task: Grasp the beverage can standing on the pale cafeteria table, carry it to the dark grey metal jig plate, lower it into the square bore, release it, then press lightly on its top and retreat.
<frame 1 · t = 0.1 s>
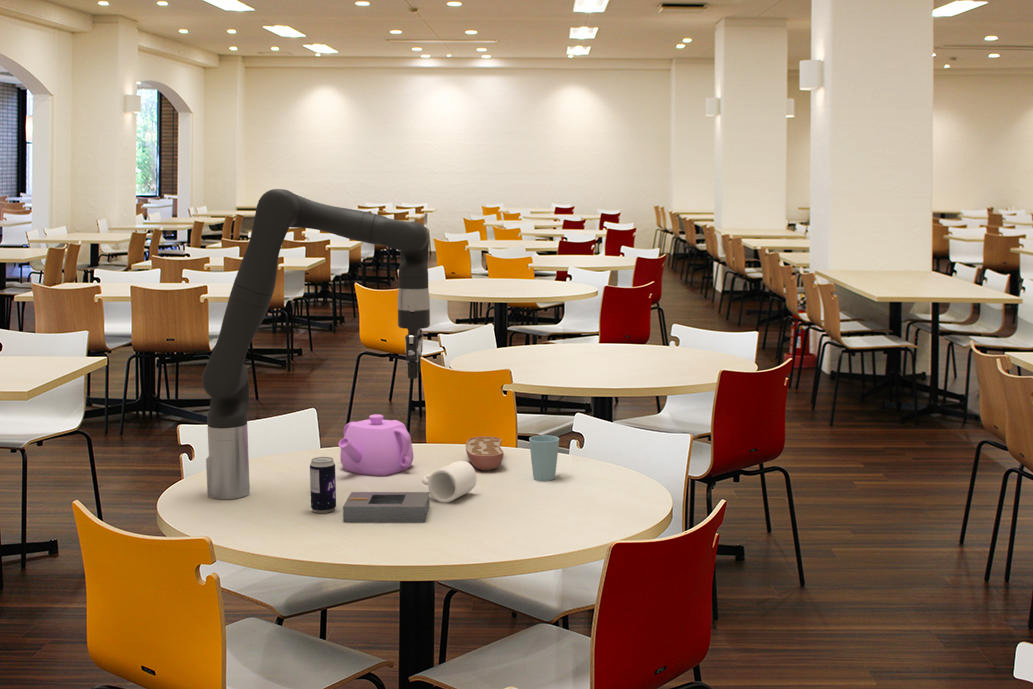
hand: (414, 375, 253), 29 cm above the table, fingers open, 8 cm apart
cup: (544, 479, 273), on the table
jig: (387, 514, 241), on the table
mug: (445, 497, 256), on the table
anatomical model: (484, 464, 289), on the table
teapot: (373, 470, 282), on the table
beverage can: (323, 511, 244), on the table
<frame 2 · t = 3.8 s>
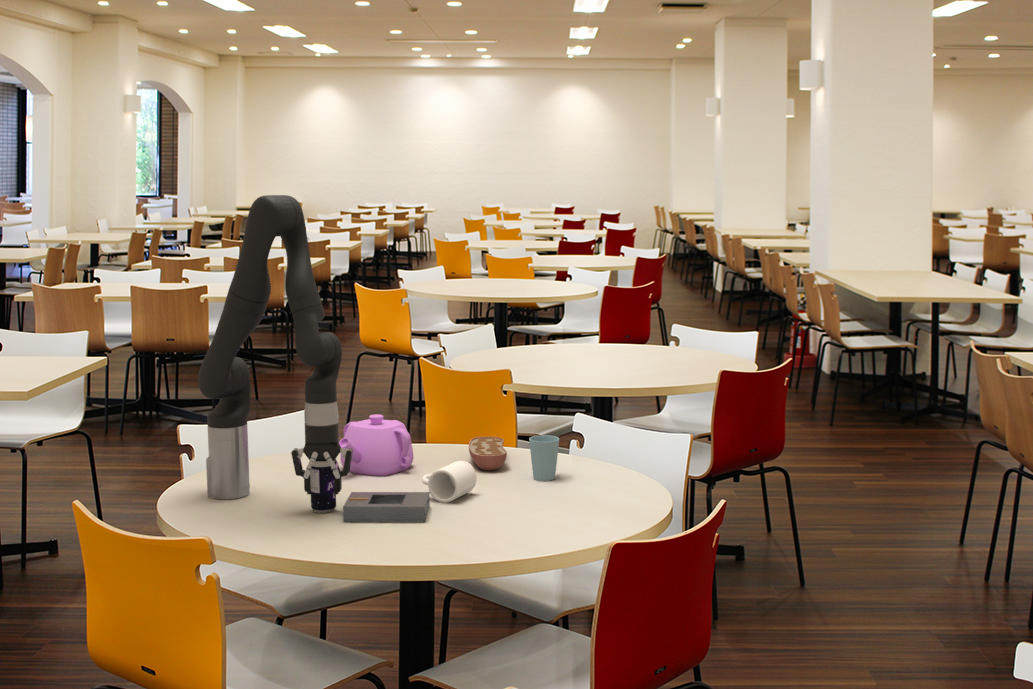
hand: (323, 493, 244), 4 cm above the table, fingers closed on beverage can, 5 cm apart
beverage can: (323, 511, 244), on the table, touching gripper
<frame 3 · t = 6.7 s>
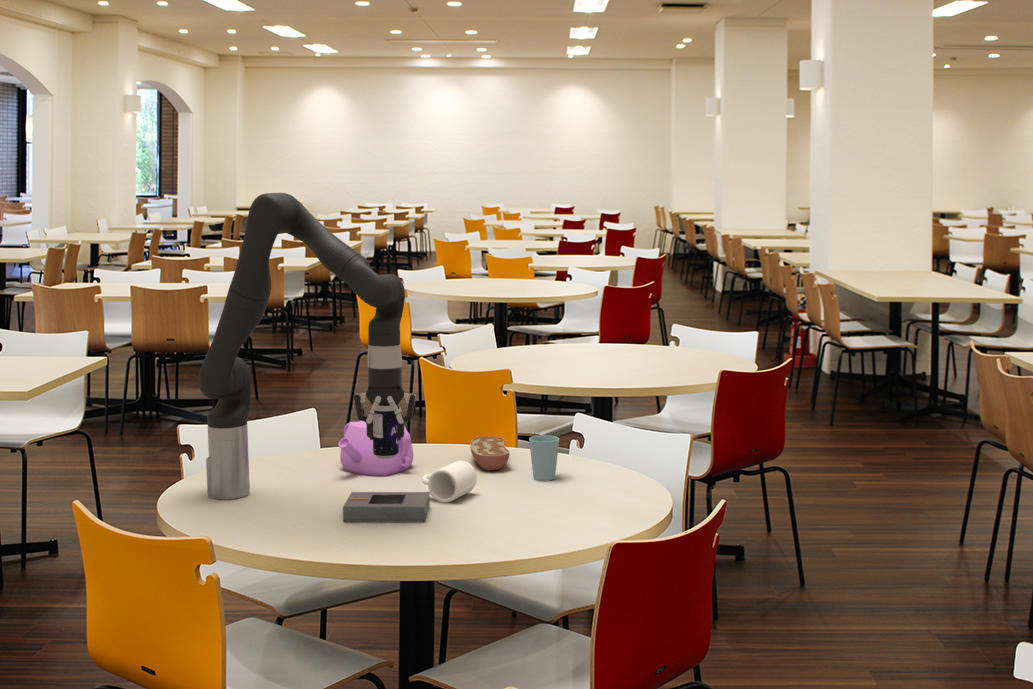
hand: (385, 439, 239), 17 cm above the table, fingers closed on beverage can, 5 cm apart
beverage can: (386, 457, 240), point 13 cm above the table, touching gripper
when the fingers open (5 cm above the table, at t = 9.6 s): beverage can drops 1 cm, resting in jig.
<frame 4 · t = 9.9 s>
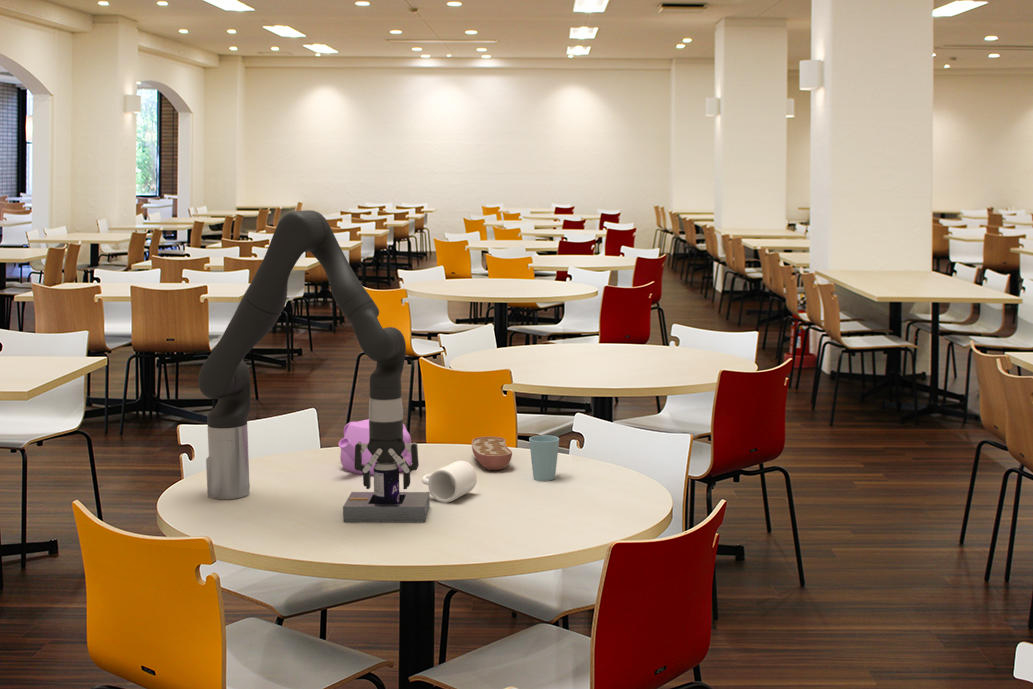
hand: (387, 488, 240), 6 cm above the table, fingers open, 8 cm apart
beverage can: (387, 515, 241), resting in jig
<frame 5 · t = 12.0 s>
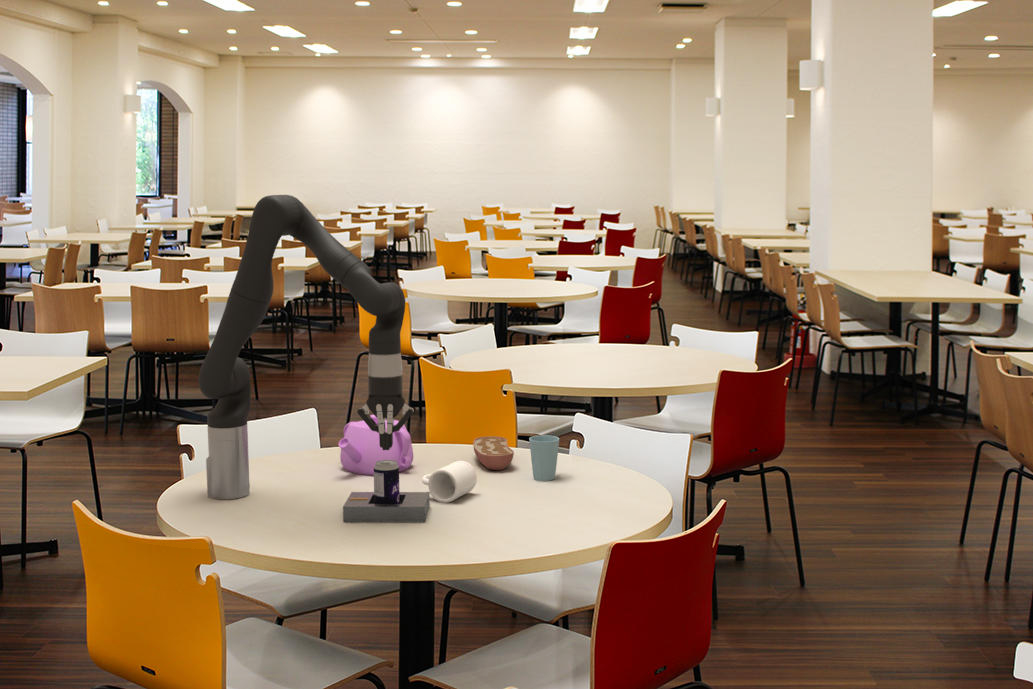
hand: (386, 449, 239), 15 cm above the table, fingers closed
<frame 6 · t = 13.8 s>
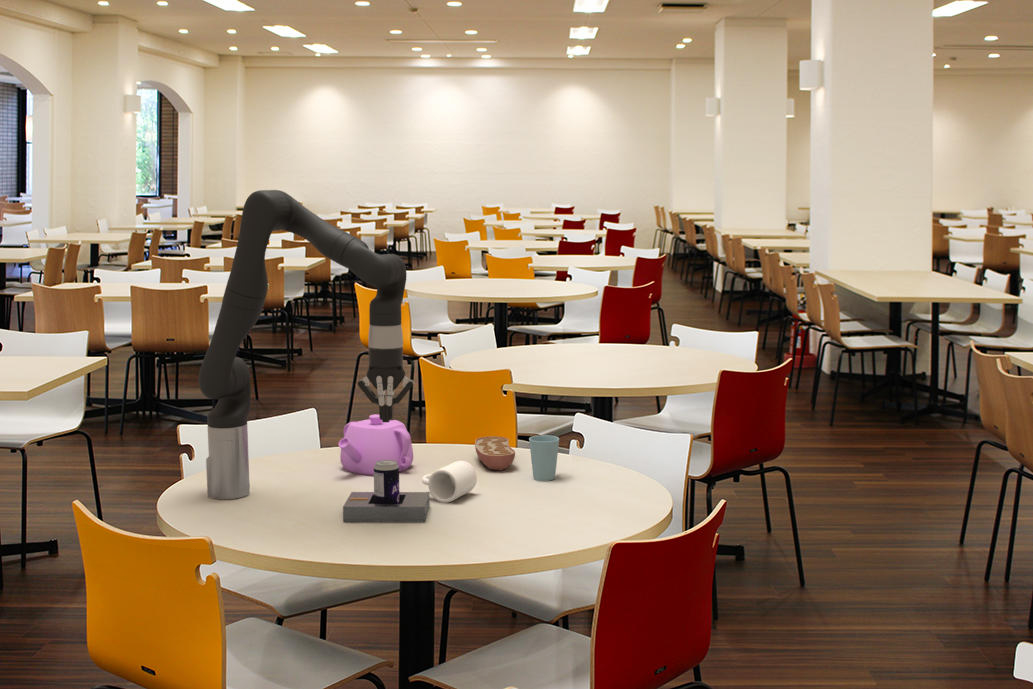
hand: (386, 421, 238), 21 cm above the table, fingers closed
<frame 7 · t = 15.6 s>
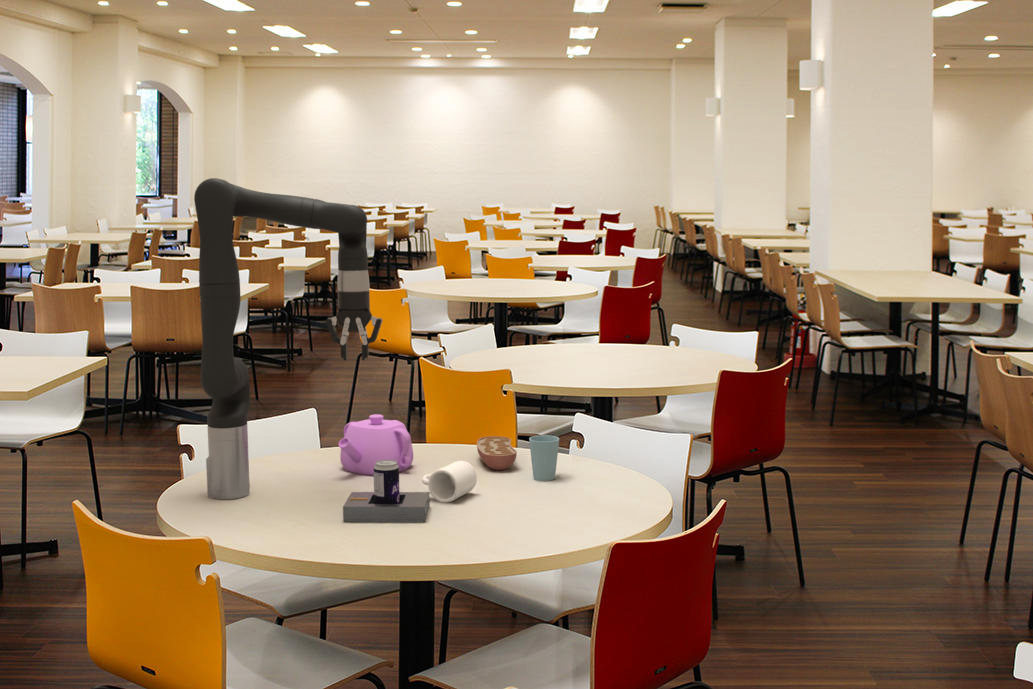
hand: (354, 359, 258), 32 cm above the table, fingers open, 4 cm apart
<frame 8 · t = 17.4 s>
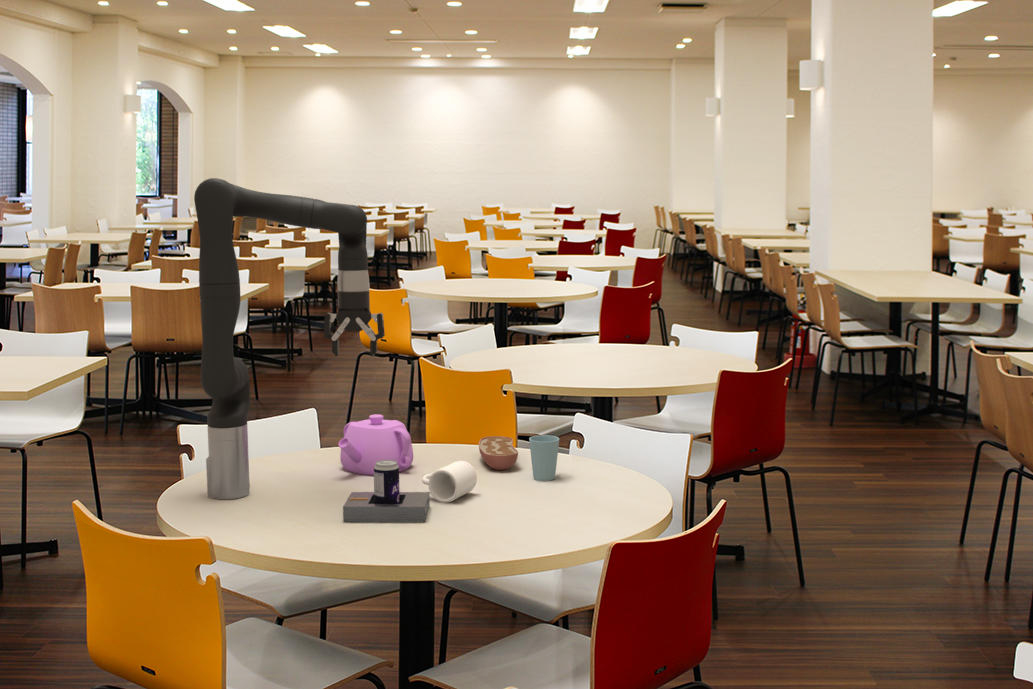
hand: (354, 355, 258), 33 cm above the table, fingers open, 8 cm apart
at the end: beverage can 0.1 cm off-centre on the jig, point 0.0 cm above the jig's base; beverage can tilted 0°; the gripper is holding nothing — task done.
